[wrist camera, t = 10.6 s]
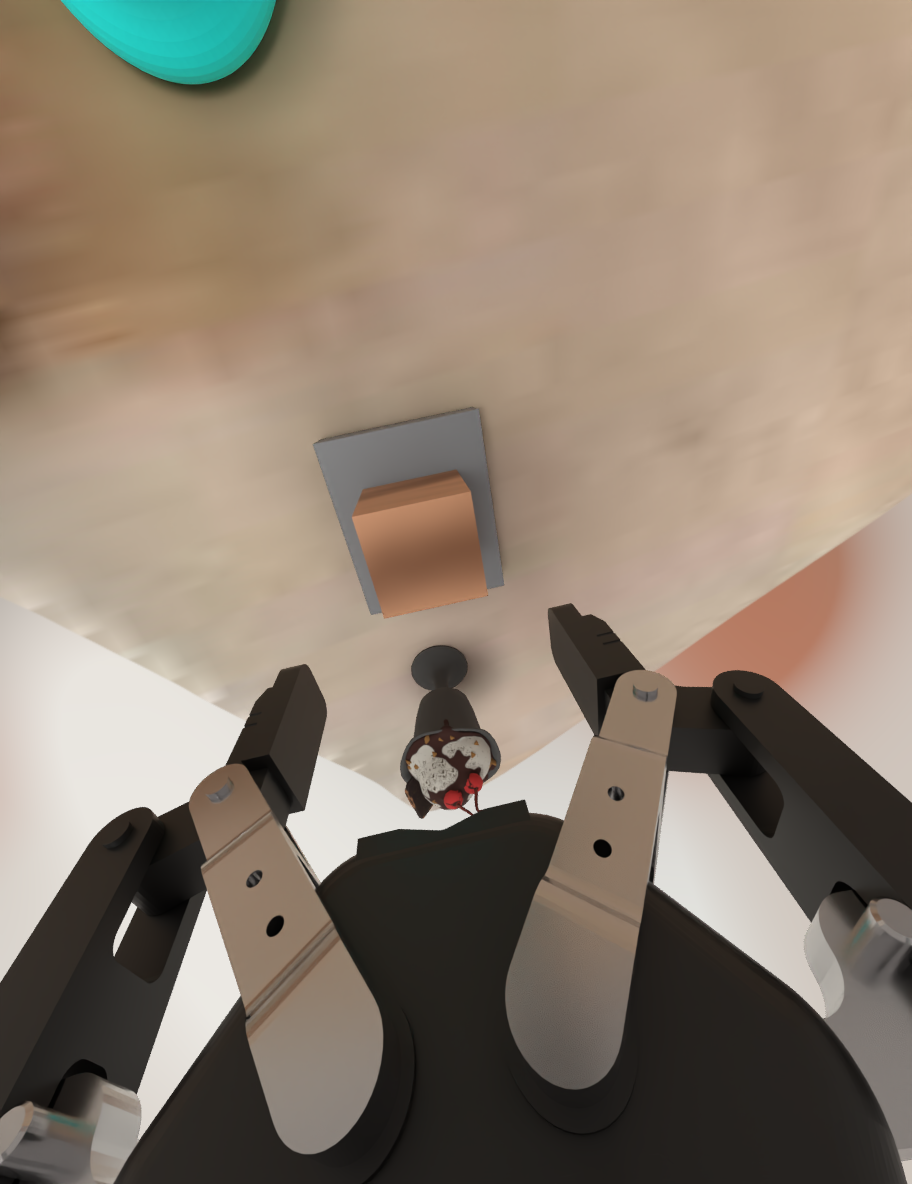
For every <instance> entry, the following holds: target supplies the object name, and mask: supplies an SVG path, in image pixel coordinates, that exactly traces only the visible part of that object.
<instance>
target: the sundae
mask: <svg viewBox="0 0 912 1184" xmlns="http://www.w3.org/2000/svg"><path fill="white" fill-rule="evenodd" d="M411 671H412V676H413V678H414V680H415V681H416V683H417V684H418V685H420V686H421V687H423V688H424V689H428V690H432V691H431V692H429V693H428V694H426V695H425V696H424V697H423V698H422V700H421V703H420V706H419V709H418V713H417V717H416V724H415V732H414V738H412V739H411V741H410V742H409V743H408V745H407V746H406V749H405V751H404V753H403V756H402V760H401V765H400V770H401V776H402V778H403V779H404V781H405V782H406V783H407V785H406V789H405V794H406V796H407V798H408V800H409V802H410V804H411V805H412V807H413V808H414V809H415V811H416V813H417V815H418V816H419V818H421V819H422V818H424V817H425V816H426V814H427V813H428V812H429V810H430V809H431V807H432V806H433V805H435V806H437V807H439V808H442V809H444V810H454V809H457V808H460V809H462V810H463V811H465V812H467V813H468V814H470V815H471V816H472V815H473V814H472V813H471V812H470V811H469V810H467V809H465V808H464V807H462V806H463V805H465V804H466V803H467V802H468V801H469V799H470V798H471V797H472V795H473V794H475V799H474V800H475V807H476V810H477V812H480V811H481V810H479V809H478V803H477V802H478V801H477V800H478V791H480V790H481V788H482V784H483V783H484V782H485V781H487V780H488V779H489V778H491V777H492V776H493V775H494V774H495V773H496V772H497V770H498V769H499V767H500V762H501V754H500V751H499V748H498V746H497V743H496V741H495V740H494V738H493V737H492V736H491V735H490V733H488V732H487V731H485V730H483V729H480V726H479V724H478V721H477V718H476V716H475V713H474V711H473V708H472V706H471V705H470V703H469V701H468V699H467V697H466V695H465V694H463V693H462V692H461V691H459V690H457V689H453V687H455V686H456V685H458V684H459V683H460V682H461V681H462V680H463V678H464V677H465V675H466V672H467V662H466V659H465V657H464V656H463V654H462V653H460V652H459V651H458V650H456V649H454V648H451V647H448V646H434V647H431V648H428V649H426V650H424V651H422V652H421V653H420V654H419V655H418V656H417V657H416V658H415V660H414V661H413V664H412V668H411Z"/></svg>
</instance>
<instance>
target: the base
mask: <svg viewBox="0 0 912 1184" xmlns="http://www.w3.org/2000/svg"><path fill="white" fill-rule="evenodd" d="M313 446H314V449H315V452H316V455H317V458H318V461H319V464H320V467H321V470H322V473H323V476H324V479H325V481H326V484H327V487H328V490H329V493H330V496H331V499H332V502H333V505H334V508H335V511H336V514H337V517H338V520H339V522H340V525H341V528H342V531H343V534H344V537H345V540H346V543H347V546H348V549H349V552H350V555H351V558H352V561H353V564H354V566H355V569H356V572H357V575H358V578H359V581H360V584H361V587H362V590H363V593H364V596H365V599H366V602H367V605H368V607H369V610H370V613H371V615H373V614H377V613H382V610H381V607H380V604H379V601H378V598H377V594H376V591H375V588H374V585H373V582H372V579H371V576H370V573H369V570H368V566H367V563H366V560H365V557H364V554H363V551H362V548H361V545H360V541H359V538H358V535H357V532H356V529H355V526H354V523H353V520H352V515H353V513H354V510H355V508H356V505H357V503H358V500H359V498H360V495H361V493H362V490H363V489H367V488H372V487H376V486H381V485H386V484H390V483H395V482H400V481H404V480H409V479H414V478H418V477H423V476H428V475H432V474H437V473H442V472H446V471H451V470H456V469H457V471H458V473H459V474H460V476H461V477H462V479H463V480H464V482H465V483H466V485H467V486H468V488H469V489H470V491H471V496H472V502H473V508H474V514H475V520H476V526H477V532H478V538H479V544H480V550H481V556H482V562H483V568H484V574H485V580H486V586H487V589H490V588H495V587H499V586H504V580H503V573H502V566H501V559H500V552H499V545H498V538H497V532H496V525H495V518H494V511H493V504H492V497H491V490H490V483H489V476H488V469H487V462H486V455H485V449H484V442H483V435H482V428H481V421H480V414H479V409H477V408H474V407H470V408H466V409H461V410H456V411H452V412H447V413H442V414H438V415H433V416H428V417H424V418H419V419H414V420H409V421H405V422H400V423H395V424H391V425H386V426H381V427H377V428H372V429H367V430H363V431H358V432H353V433H349V434H344V435H339V436H335V437H330V438H325V439H321V440H319V441H318V442H316V443H314V444H313Z"/></svg>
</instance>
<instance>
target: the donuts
mask: <svg viewBox="0 0 912 1184" xmlns="http://www.w3.org/2000/svg"><path fill="white" fill-rule="evenodd" d="M61 1H62V2H63V4H64V5H65V6H66V7H67V8H68V9H69V10H70V12H71V13H72V14H73V15H74V16H75V17H76V18H77V19H78V20H79V21H80V22H81V23H82V25H83V26H84V27H85V28H86V29H87V30H88V31H89V32H90V33H91V34H92V35H93V36H95V37H96V38H97V39H98V40H99V41H100V42H101V43H102V44H104V45H105V46H106V47H107V48H109V49H110V50H111V51H112V52H114V53H115V54H116V55H118V56H119V57H121V58H122V59H124V60H125V61H127V62H128V63H130V64H132V65H133V66H135V67H137V68H139V69H140V70H142V71H144V72H146V73H148V74H150V75H153V76H155V77H158V78H160V79H163V80H167V81H170V82H175V83H180V84H204V83H210V82H213V81H216V80H219V79H221V78H224V77H226V76H228V75H230V74H232V73H233V72H234V71H236V70H237V69H238V68H239V67H241V66H242V65H243V64H244V63H245V62H246V61H247V60H248V59H249V58H250V56H251V55H252V54H253V53H254V51H255V50H256V48H257V47H258V45H259V44H260V42H261V40H262V38H263V36H264V34H265V32H266V30H267V28H268V25H269V22H270V20H271V17H272V13H273V10H274V6H275V2H276V0H61Z"/></svg>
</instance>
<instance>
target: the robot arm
mask: <svg viewBox="0 0 912 1184" xmlns="http://www.w3.org/2000/svg"><path fill="white" fill-rule="evenodd" d="M548 620H549V630H550V641H551V649H552V653H553V657H554V660H555V663H556V665H557V667H558V669H559V670H560V672H561V674H562V676H563V678H564V680H565V681H566V683H567V685H568V687H569V689H570V691H571V692H572V694H573V696H574V698H575V700H576V702H577V703H578V705H579V707H580V709H581V711H582V713H583V715H584V716H585V718H586V720H587V722H588V724H589V725H590V727H591V729H592V731H593V733H594V736H593V738H592V740H591V743H590V745H589V748H588V751H587V754H586V757H585V760H584V763H583V766H582V769H581V772H580V775H579V778H578V781H577V784H576V787H575V790H574V793H573V796H572V799H571V802H570V805H569V808H568V811H567V814H566V817H565V820H561V819H559V818H556V817H552V816H549V815H543V814H537V813H529V812H528V808H527V805H526V802H525V800H521V801H516V802H512V803H508V804H504V805H500V806H496V807H491V808H487V809H483V810H481V811H480V812H478V813H476V814H474V815H472V816H470V817H468V818H466V819H464V820H462V821H461V822H458V823H457V824H455V825H453V826H451V827H449V828H447V829H445V830H439V831H438V830H410V829H397V830H393V831H389V832H385V833H381V834H376V835H372V836H368V837H363V838H360V839H358V845H357V854H356V855H355V856H353V857H351V858H350V859H348V860H347V861H345V862H344V863H342V864H341V865H340V866H339V867H337V868H336V869H335V870H334V871H332V873H331V874H329V875H328V876H327V877H326V878H325V879H324V880H323V882H322V883H321V882H320V881H319V879H318V878H317V876H316V874H315V873H314V871H313V869H312V868H311V866H310V864H309V863H308V861H307V859H306V857H305V856H304V854H303V852H302V851H301V849H300V847H299V846H298V844H297V842H296V841H295V839H294V838H293V836H292V834H291V832H290V831H289V829H288V828H287V826H286V822H287V818H288V815H289V814H291V813H295V812H300V811H304V810H305V806H306V802H307V798H308V793H309V789H310V785H311V781H312V776H313V772H314V768H315V764H316V759H317V756H318V751H319V747H320V743H321V739H322V734H323V730H324V726H325V722H326V717H327V708H326V703H325V699H324V697H323V695H322V693H321V691H320V689H319V687H318V685H317V682H316V680H315V678H314V676H313V674H312V672H311V670H310V668H309V667H308V666H307V665H306V664H303V665H299V666H294V667H290V668H286V669H282V670H281V671H280V672H279V674H278V676H277V679H276V681H275V683H274V686H273V687H272V688H268V689H267V690H266V691H265V692H264V693H263V694H262V695H261V696H260V697H259V698H258V700H257V701H256V702H255V704H254V706H253V708H252V710H251V713H250V717H248V719H247V721H246V723H245V728H243V729H242V732H241V734H240V736H239V738H238V740H237V742H236V745H235V746H234V749H233V751H232V753H231V755H230V757H229V759H228V761H227V763H226V766H224V767H221V768H219V769H217V770H216V771H214V772H213V773H211V774H210V775H209V776H207V777H206V778H205V779H204V780H203V781H202V782H201V783H200V784H199V785H198V786H197V787H196V789H195V790H194V792H193V793H192V795H191V797H190V801H189V802H187V803H185V804H183V805H181V806H179V807H177V808H175V809H173V810H171V811H169V812H167V813H165V814H163V815H161V816H159V817H157V816H156V815H155V814H154V813H153V812H152V811H151V810H150V809H149V808H146V807H140V808H135V809H132V810H129V811H127V812H125V813H123V814H121V815H120V816H118V817H116V818H115V819H113V820H112V821H111V822H109V823H108V824H107V825H106V826H105V827H104V828H102V830H100V831H99V832H98V833H97V835H96V836H95V837H94V838H93V839H92V841H91V842H90V843H89V845H88V846H87V848H86V850H85V851H84V853H83V854H82V856H81V857H80V859H79V861H78V862H77V864H76V865H75V867H74V868H73V870H72V871H71V873H70V875H69V876H68V878H67V879H66V881H65V882H64V884H63V886H62V887H61V889H60V890H59V892H58V893H57V895H56V897H55V898H54V900H53V901H52V903H51V904H50V906H49V907H48V909H47V911H46V912H45V914H44V915H43V917H42V918H41V920H40V922H39V923H38V925H37V926H36V928H35V929H34V931H33V933H32V934H31V936H30V937H29V939H28V940H27V942H26V944H25V945H24V947H23V948H22V950H21V951H20V953H19V955H18V956H17V958H16V959H15V961H14V962H13V964H12V965H11V967H10V969H9V970H8V972H7V973H6V975H5V976H4V978H3V980H2V981H1V983H0V1184H907V1181H906V1178H905V1174H904V1170H903V1167H902V1163H901V1161H905V1160H912V803H911V802H910V801H909V800H908V799H907V798H906V797H904V796H903V795H902V794H901V793H900V792H899V791H898V790H897V789H895V788H894V787H893V786H892V785H891V784H890V783H888V781H886V780H885V779H884V778H883V777H882V776H881V775H880V774H878V773H877V772H876V771H875V770H874V769H873V768H872V767H871V766H869V765H868V764H867V763H866V762H865V761H864V760H863V759H861V758H860V757H859V756H858V755H857V754H856V753H855V752H854V751H852V750H851V749H850V748H849V747H848V746H847V745H846V744H844V743H843V742H842V741H841V740H840V739H839V738H838V737H836V736H835V735H834V734H833V733H832V732H831V731H830V730H828V729H827V728H826V727H825V726H824V725H823V724H822V723H821V722H819V721H818V720H817V719H816V718H815V717H814V716H813V715H812V714H810V713H809V712H808V711H807V710H806V709H805V708H804V707H802V706H801V705H800V704H799V703H798V702H797V701H796V700H794V699H793V698H792V697H791V696H790V695H789V694H788V693H787V692H785V691H784V690H783V689H782V688H781V687H780V686H779V685H777V684H776V683H775V682H774V681H772V680H770V679H769V678H767V677H764V676H762V675H759V674H756V673H753V672H747V671H740V670H735V671H727V672H723V673H721V674H719V675H718V676H716V678H715V679H714V681H713V686H712V687H681V686H675V685H674V684H673V683H672V682H671V681H670V680H669V679H668V678H666V677H665V676H663V675H661V674H659V673H656V672H652V671H647V670H645V668H644V667H643V666H642V665H641V664H640V662H639V661H638V660H637V659H636V658H635V657H634V655H633V654H632V653H631V652H630V651H629V649H628V648H627V647H626V646H625V645H624V644H623V642H622V641H620V639H619V638H618V636H617V635H616V634H615V633H613V631H612V629H611V628H610V627H609V626H608V625H607V623H606V622H605V621H603V620H601V619H599V618H597V617H595V616H593V615H592V614H590V615H586V616H581V615H580V613H579V612H578V611H577V609H576V608H575V607H574V605H573V604H571V603H570V604H565V605H561V606H557V607H552V608H549V609H548ZM669 771H678V772H692V773H706V774H708V776H709V777H710V778H711V780H712V781H713V783H714V784H715V786H716V787H717V788H718V790H719V791H720V793H721V794H722V796H723V797H724V798H725V800H726V801H727V803H728V804H729V806H730V807H731V808H732V810H733V811H734V813H735V814H736V816H737V817H738V818H739V820H740V821H741V823H742V824H743V826H744V827H745V829H746V830H747V831H748V832H749V834H750V836H751V837H752V839H753V840H754V841H755V843H756V844H757V846H758V847H759V849H760V850H761V851H762V853H763V854H764V856H765V857H766V858H767V860H768V861H769V863H770V864H771V866H772V867H773V868H774V870H775V871H776V873H777V874H778V876H779V877H780V879H781V880H782V881H783V883H784V884H785V886H786V887H787V889H788V890H789V891H790V893H791V894H792V896H793V897H794V899H795V900H796V901H797V903H798V904H799V906H800V907H801V908H802V910H803V911H804V913H805V914H806V916H807V917H808V918H809V920H810V921H811V924H810V927H809V929H808V930H807V933H806V935H805V939H804V950H805V955H806V959H807V961H808V964H809V967H810V968H811V970H812V972H813V974H814V976H815V978H816V980H817V982H818V984H819V986H820V989H821V991H822V994H823V997H824V1002H825V1007H826V1018H824V1019H822V1018H821V1016H820V1015H819V1014H818V1013H817V1012H816V1011H815V1010H814V1009H813V1008H812V1007H811V1006H810V1005H809V1004H808V1003H807V1002H806V1001H805V1000H804V999H803V998H802V997H801V996H800V995H799V994H797V993H796V992H795V991H794V990H793V989H792V988H790V987H789V986H788V985H787V984H785V983H784V982H782V981H781V980H780V979H779V978H777V977H776V976H774V975H773V974H772V973H771V972H769V971H768V970H767V969H765V968H764V967H763V966H761V965H760V964H759V963H757V962H756V961H755V960H753V959H752V958H751V957H749V956H748V955H747V954H745V953H744V952H743V951H741V950H740V949H739V948H737V947H736V946H735V945H733V944H732V943H731V942H729V941H728V940H727V939H725V938H724V937H723V936H722V935H720V934H719V933H717V932H716V931H715V930H714V929H712V928H711V927H709V926H708V925H707V924H706V923H704V922H703V921H702V920H700V919H699V918H698V917H696V916H695V915H694V914H692V913H691V912H690V911H688V910H687V909H686V908H684V907H683V906H681V905H680V904H679V903H678V902H676V901H675V900H674V899H672V898H671V897H670V896H668V895H667V894H666V893H664V892H663V891H662V890H660V889H659V888H658V887H656V886H655V885H654V878H655V872H656V864H657V856H658V848H659V840H660V832H661V825H662V818H663V810H664V804H665V797H666V789H667V782H668V775H669ZM206 891H208V894H209V897H210V900H211V903H212V907H213V910H214V913H215V916H216V919H217V922H218V925H219V928H220V932H221V935H222V938H223V940H224V944H225V947H226V950H227V953H228V957H229V960H230V963H231V966H232V969H233V972H234V975H235V978H236V981H237V985H238V987H239V991H240V994H241V996H240V998H239V999H238V1000H237V1002H236V1003H235V1005H234V1006H233V1008H232V1009H231V1011H230V1012H229V1014H228V1015H227V1016H226V1017H225V1019H224V1020H223V1022H222V1023H221V1025H220V1026H219V1027H218V1029H217V1030H216V1032H215V1033H214V1035H213V1036H212V1037H211V1039H210V1040H209V1042H208V1043H207V1045H206V1046H205V1047H204V1049H203V1050H202V1052H201V1053H200V1055H199V1056H198V1058H197V1059H196V1060H195V1062H194V1063H193V1065H192V1066H191V1067H190V1069H189V1070H188V1072H187V1073H186V1074H185V1076H184V1077H183V1079H182V1080H181V1082H180V1083H179V1085H178V1086H177V1087H176V1089H175V1090H174V1092H173V1093H172V1095H171V1096H170V1097H169V1099H168V1100H167V1102H166V1103H165V1105H164V1106H163V1108H162V1109H161V1110H160V1112H159V1113H158V1114H157V1116H156V1117H155V1119H154V1120H153V1121H152V1123H151V1124H150V1126H149V1127H148V1129H147V1130H146V1131H145V1133H144V1134H143V1136H142V1137H141V1139H140V1140H139V1139H137V1138H138V1134H139V1129H140V1123H141V1105H140V1101H139V1098H138V1096H137V1092H138V1088H139V1086H140V1083H141V1080H142V1077H143V1074H144V1072H145V1069H146V1066H147V1063H148V1060H149V1057H150V1054H151V1051H152V1048H153V1045H154V1042H155V1039H156V1037H157V1034H158V1031H159V1028H160V1025H161V1022H162V1019H163V1016H164V1013H165V1010H166V1007H167V1005H168V1002H169V999H170V996H171V993H172V990H173V987H174V984H175V981H176V978H177V975H178V972H179V970H180V967H181V964H182V961H183V958H184V955H185V952H186V949H187V946H188V943H189V941H190V937H191V935H192V932H193V929H194V926H195V923H196V920H197V917H198V914H199V911H200V908H201V906H202V903H203V900H204V897H205V894H206ZM131 902H132V903H133V904H135V905H136V906H137V909H136V911H135V913H134V916H133V918H132V920H131V922H130V924H129V927H128V928H127V931H126V933H125V935H124V937H123V939H122V941H121V943H120V946H119V948H118V950H117V952H116V954H115V956H113V943H114V939H115V936H116V933H117V931H118V929H119V927H120V925H121V923H122V921H123V918H124V917H125V915H126V913H127V910H128V908H129V906H130V904H131Z"/></svg>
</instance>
